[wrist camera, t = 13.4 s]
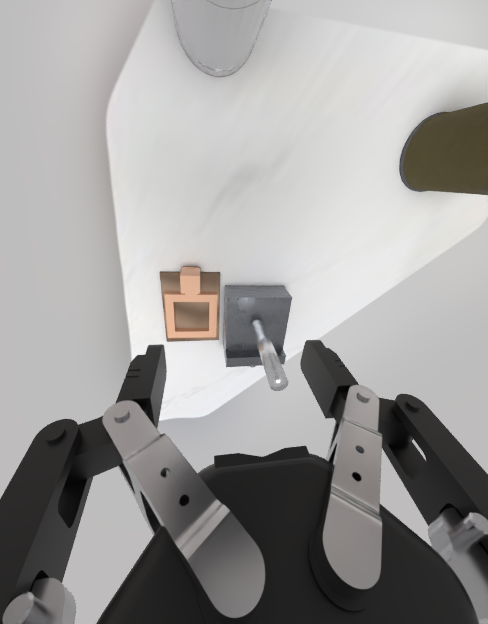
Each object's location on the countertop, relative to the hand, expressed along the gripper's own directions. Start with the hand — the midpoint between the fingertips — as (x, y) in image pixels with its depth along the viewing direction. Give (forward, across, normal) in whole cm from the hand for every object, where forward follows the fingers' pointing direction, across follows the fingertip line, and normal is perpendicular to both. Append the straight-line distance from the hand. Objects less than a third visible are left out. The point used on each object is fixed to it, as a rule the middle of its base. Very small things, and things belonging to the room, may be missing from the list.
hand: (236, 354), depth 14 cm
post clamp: (+30, -8, +16) cm, 35 cm away
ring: (+29, +4, +12) cm, 32 cm away
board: (+30, +4, +13) cm, 33 cm away
